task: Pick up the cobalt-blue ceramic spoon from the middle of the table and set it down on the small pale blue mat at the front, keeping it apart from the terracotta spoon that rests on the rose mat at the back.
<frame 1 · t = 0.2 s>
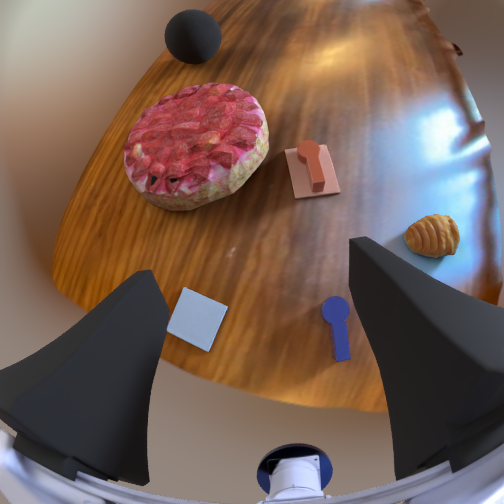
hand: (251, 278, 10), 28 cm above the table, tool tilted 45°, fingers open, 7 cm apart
cake: (198, 150, 45), on the table
decorative egg: (201, 60, 53), on the table
blue spoon: (336, 329, 35), on the table
pastry: (430, 240, 36), on the table
terracotta spoon: (311, 169, 41), resting on rose mat
rose mat: (311, 170, 41), on the table
blue mat: (196, 319, 38), on the table
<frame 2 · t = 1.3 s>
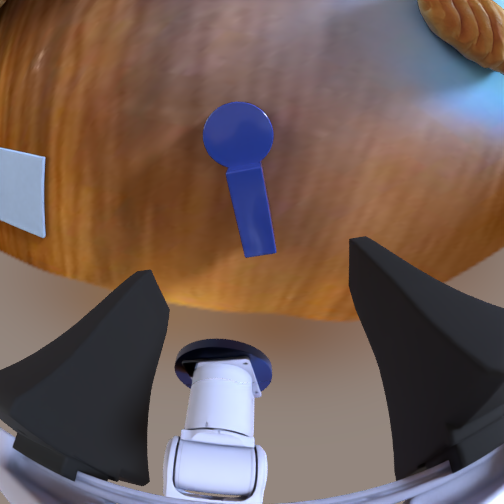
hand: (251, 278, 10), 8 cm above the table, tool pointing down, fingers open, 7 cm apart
blue spoon: (248, 173, 16), on the table
pastry: (468, 31, 9), on the table
blue mat: (17, 190, 16), on the table
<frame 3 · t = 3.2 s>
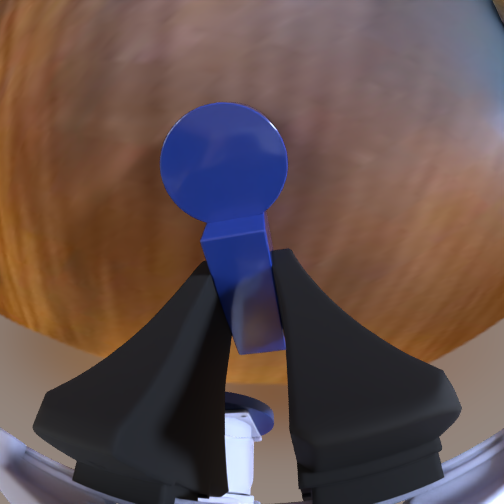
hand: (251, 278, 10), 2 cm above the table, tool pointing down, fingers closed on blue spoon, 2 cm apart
blue spoon: (243, 220, 10), on the table, touching gripper
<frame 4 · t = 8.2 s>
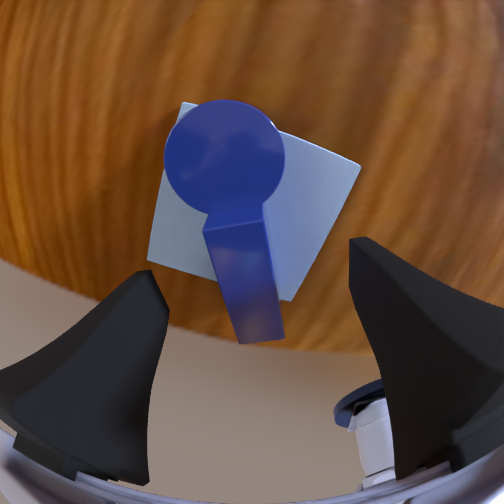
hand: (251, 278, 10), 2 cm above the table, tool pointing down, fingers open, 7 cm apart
blue spoon: (243, 213, 11), resting on blue mat
blue mat: (244, 211, 11), on the table
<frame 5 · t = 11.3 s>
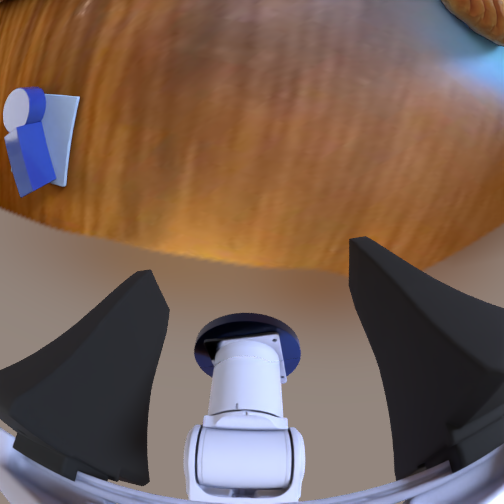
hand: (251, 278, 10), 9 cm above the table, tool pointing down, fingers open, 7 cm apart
blue spoon: (37, 136, 15), resting on blue mat
pastry: (475, 12, 9), on the table
blue mat: (41, 136, 15), on the table
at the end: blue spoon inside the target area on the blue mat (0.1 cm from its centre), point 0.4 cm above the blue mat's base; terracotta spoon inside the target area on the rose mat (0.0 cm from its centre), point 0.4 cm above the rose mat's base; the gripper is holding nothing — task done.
